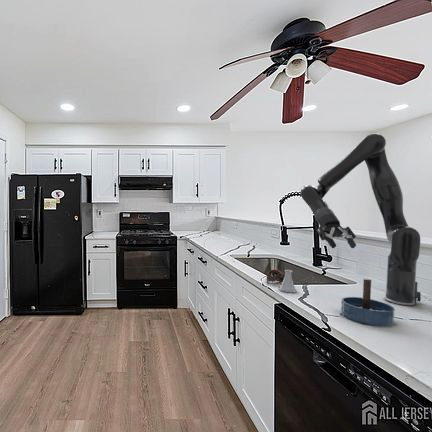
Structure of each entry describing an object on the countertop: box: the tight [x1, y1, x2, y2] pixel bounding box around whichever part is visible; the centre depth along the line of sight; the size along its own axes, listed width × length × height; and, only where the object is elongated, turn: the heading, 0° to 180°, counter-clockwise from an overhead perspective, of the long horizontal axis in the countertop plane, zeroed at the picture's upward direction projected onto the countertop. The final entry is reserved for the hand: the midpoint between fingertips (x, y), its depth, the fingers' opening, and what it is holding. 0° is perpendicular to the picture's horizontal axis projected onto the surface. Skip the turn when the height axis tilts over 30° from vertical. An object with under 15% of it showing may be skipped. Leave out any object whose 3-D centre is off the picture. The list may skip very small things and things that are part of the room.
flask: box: [279, 269, 297, 293], centre depth 136 cm, size 7×7×10 cm
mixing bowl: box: [340, 296, 395, 327], centre depth 104 cm, size 15×15×6 cm
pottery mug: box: [265, 269, 285, 284], centre depth 150 cm, size 12×10×8 cm
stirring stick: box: [360, 278, 373, 310], centre depth 104 cm, size 4×4×14 cm
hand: (344, 247), depth 118 cm, fingers open, 8 cm apart
